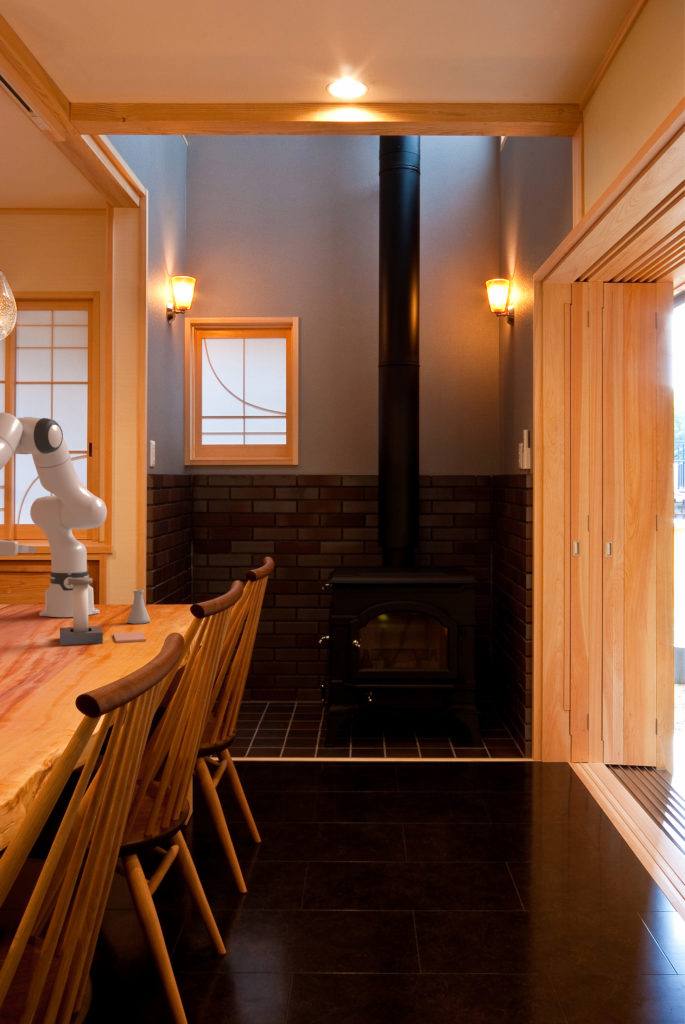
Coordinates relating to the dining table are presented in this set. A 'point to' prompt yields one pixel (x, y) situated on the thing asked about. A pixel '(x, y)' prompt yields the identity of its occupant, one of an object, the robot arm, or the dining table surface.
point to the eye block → (81, 636)
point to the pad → (129, 637)
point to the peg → (80, 603)
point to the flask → (138, 609)
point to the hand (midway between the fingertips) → (34, 549)
